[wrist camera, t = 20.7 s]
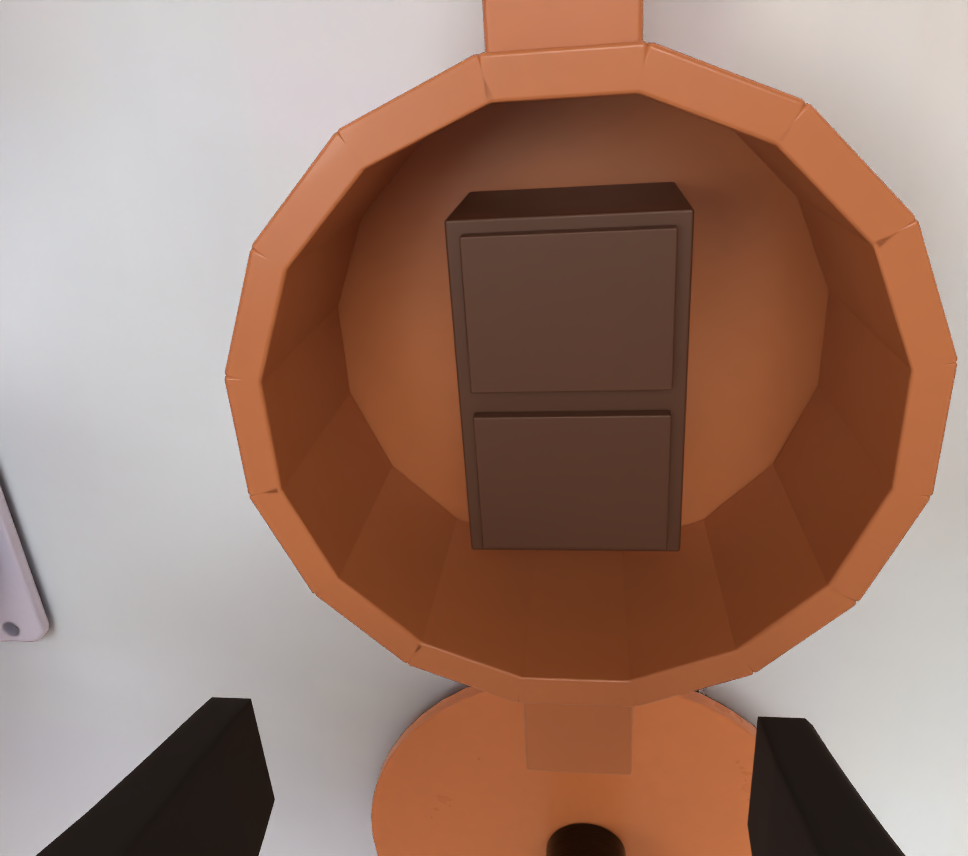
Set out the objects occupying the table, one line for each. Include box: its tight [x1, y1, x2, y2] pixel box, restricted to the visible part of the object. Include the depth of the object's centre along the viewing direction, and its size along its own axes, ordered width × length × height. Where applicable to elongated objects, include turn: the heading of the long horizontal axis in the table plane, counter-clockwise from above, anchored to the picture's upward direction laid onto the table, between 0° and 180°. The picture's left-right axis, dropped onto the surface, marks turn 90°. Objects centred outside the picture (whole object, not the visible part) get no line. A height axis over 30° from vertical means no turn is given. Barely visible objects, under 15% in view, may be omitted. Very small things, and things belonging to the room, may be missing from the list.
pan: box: [225, 0, 957, 775], centre depth 17 cm, size 12×18×5 cm
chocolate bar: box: [444, 182, 694, 551], centre depth 17 cm, size 4×7×4 cm, turn 4°
